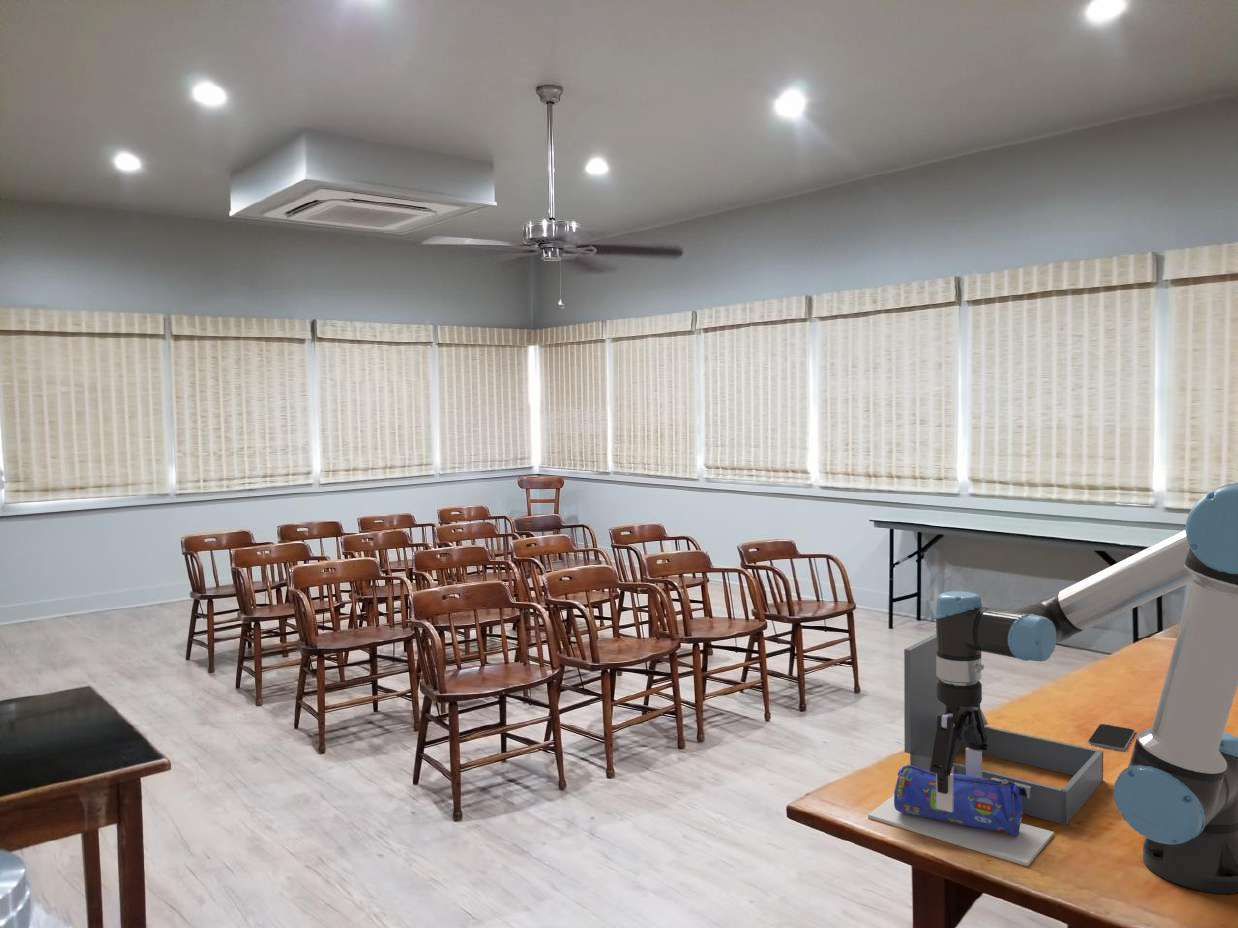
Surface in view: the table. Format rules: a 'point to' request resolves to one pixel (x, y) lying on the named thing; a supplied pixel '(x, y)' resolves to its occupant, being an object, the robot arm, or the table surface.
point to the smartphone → (1111, 737)
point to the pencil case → (962, 800)
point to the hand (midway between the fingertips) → (959, 796)
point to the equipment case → (996, 744)
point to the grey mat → (970, 834)
